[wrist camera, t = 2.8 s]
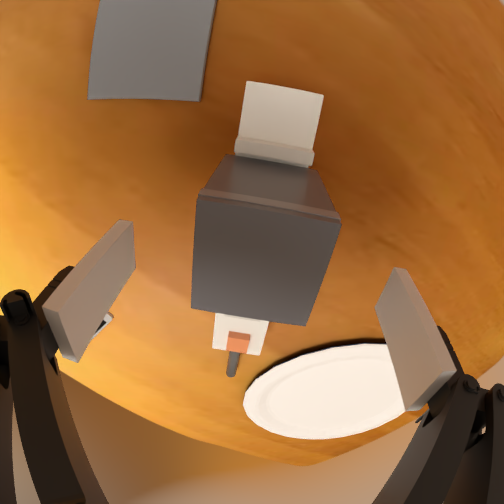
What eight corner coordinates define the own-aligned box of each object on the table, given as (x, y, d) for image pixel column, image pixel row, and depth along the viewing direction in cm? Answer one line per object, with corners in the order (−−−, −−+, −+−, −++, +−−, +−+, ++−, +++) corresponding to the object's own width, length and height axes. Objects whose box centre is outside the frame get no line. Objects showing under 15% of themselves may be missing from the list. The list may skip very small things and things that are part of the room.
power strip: (251, 81, 19) (244, 80, 15) (315, 93, 19) (327, 95, 15) (213, 364, 37) (207, 397, 32) (249, 370, 37) (246, 404, 32)
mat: (105, -5, 15) (101, -7, 14) (219, -15, 15) (218, -17, 14) (91, 98, 20) (87, 99, 20) (200, 101, 20) (198, 101, 20)
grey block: (225, 153, 19) (195, 197, 12) (317, 169, 19) (342, 223, 12) (215, 234, 22) (190, 308, 15) (297, 248, 22) (306, 326, 15)
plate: (458, 364, 36) (461, 372, 35) (342, 440, 50) (343, 447, 49) (325, 301, 30) (328, 312, 29) (213, 409, 44) (211, 417, 43)
